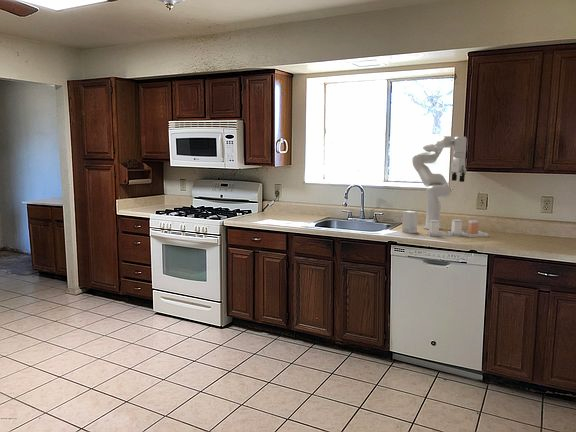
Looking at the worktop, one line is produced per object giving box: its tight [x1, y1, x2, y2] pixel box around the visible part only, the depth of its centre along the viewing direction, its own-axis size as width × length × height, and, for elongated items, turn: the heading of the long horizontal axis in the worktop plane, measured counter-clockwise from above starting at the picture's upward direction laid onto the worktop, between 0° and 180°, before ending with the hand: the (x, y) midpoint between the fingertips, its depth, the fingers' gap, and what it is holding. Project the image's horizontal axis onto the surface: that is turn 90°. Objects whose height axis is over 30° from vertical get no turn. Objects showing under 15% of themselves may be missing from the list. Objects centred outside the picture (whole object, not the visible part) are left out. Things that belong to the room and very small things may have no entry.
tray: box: [462, 229, 489, 238], centre depth 308 cm, size 14×14×3 cm
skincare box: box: [401, 210, 418, 234], centre depth 315 cm, size 8×7×16 cm
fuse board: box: [424, 230, 465, 238], centre depth 304 cm, size 10×24×4 cm, turn 100°
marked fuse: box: [467, 220, 480, 234], centre depth 307 cm, size 4×5×10 cm
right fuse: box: [450, 218, 463, 236], centre depth 305 cm, size 4×5×10 cm
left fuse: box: [428, 220, 440, 236], centre depth 302 cm, size 4×5×10 cm
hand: (457, 181), depth 310 cm, fingers open, 9 cm apart
